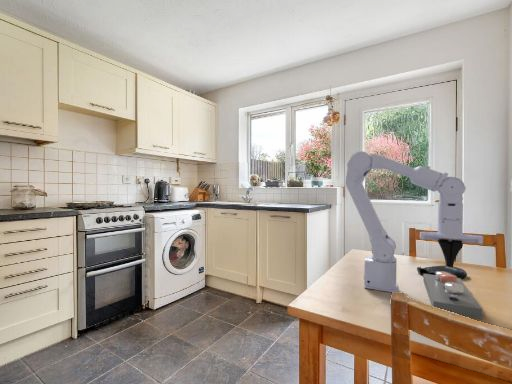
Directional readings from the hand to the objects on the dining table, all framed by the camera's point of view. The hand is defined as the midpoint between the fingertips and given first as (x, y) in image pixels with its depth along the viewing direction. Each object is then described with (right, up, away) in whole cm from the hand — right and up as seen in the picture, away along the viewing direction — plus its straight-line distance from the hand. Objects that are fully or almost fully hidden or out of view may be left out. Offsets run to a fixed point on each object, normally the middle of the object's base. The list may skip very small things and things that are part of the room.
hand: (449, 266), depth 77 cm
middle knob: (0, -7, +1) cm, 7 cm away
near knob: (-3, -7, -6) cm, 10 cm away
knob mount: (0, -9, +1) cm, 9 cm away
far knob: (+4, -9, +8) cm, 13 cm away
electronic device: (+12, -9, +20) cm, 25 cm away
